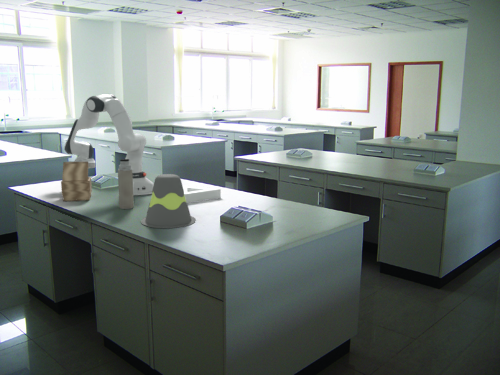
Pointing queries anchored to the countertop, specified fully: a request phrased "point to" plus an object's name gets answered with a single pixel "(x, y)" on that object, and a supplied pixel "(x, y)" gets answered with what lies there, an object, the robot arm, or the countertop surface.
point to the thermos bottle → (125, 185)
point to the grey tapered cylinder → (168, 204)
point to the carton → (76, 190)
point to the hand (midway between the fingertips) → (78, 166)
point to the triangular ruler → (200, 194)
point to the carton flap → (75, 171)
